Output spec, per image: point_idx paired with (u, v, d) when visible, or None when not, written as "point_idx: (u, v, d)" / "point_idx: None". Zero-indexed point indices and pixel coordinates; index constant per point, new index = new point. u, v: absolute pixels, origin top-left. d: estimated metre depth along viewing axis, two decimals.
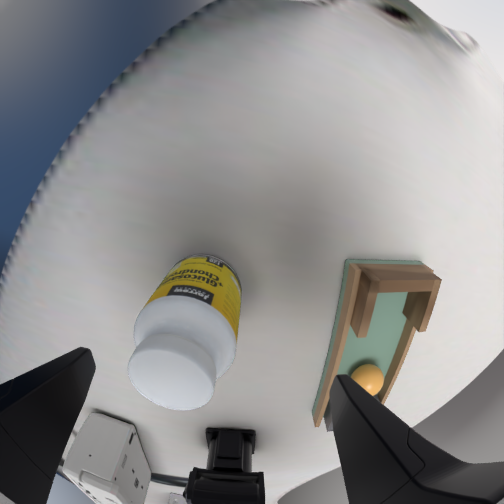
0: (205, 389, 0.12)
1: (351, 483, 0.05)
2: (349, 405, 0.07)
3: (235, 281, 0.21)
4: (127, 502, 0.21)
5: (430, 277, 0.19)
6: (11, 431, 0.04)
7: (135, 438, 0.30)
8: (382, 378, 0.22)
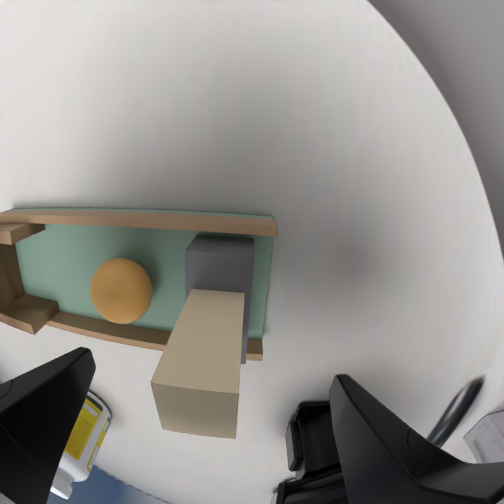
0: None
1: (351, 483, 0.05)
2: (349, 405, 0.07)
3: None
4: None
5: None
6: (11, 431, 0.04)
7: None
8: (95, 275, 0.12)
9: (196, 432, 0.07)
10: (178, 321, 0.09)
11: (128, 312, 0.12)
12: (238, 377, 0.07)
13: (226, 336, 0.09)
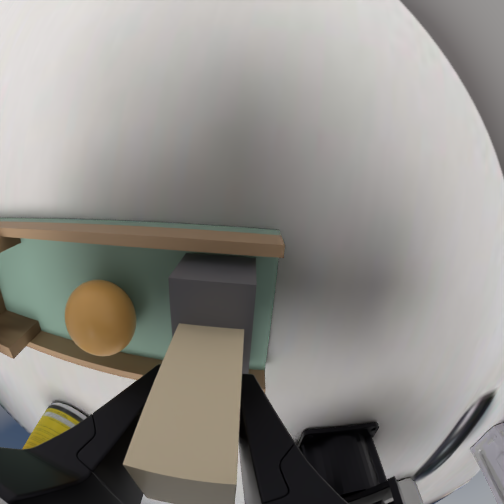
0: None
1: (245, 491, 0.05)
2: (240, 407, 0.07)
3: (46, 412, 0.16)
4: None
5: None
6: (106, 480, 0.04)
7: None
8: (69, 301, 0.10)
9: (186, 502, 0.05)
10: (159, 373, 0.07)
11: (106, 346, 0.10)
12: (235, 461, 0.04)
13: (220, 398, 0.06)
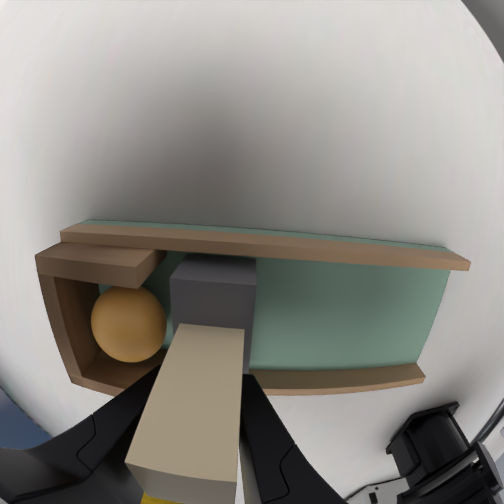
0: None
1: (245, 491, 0.05)
2: (240, 407, 0.07)
3: None
4: None
5: None
6: (106, 479, 0.04)
7: (382, 489, 0.21)
8: (137, 314, 0.10)
9: (186, 501, 0.05)
10: (161, 372, 0.07)
11: None
12: (236, 458, 0.05)
13: (221, 397, 0.06)
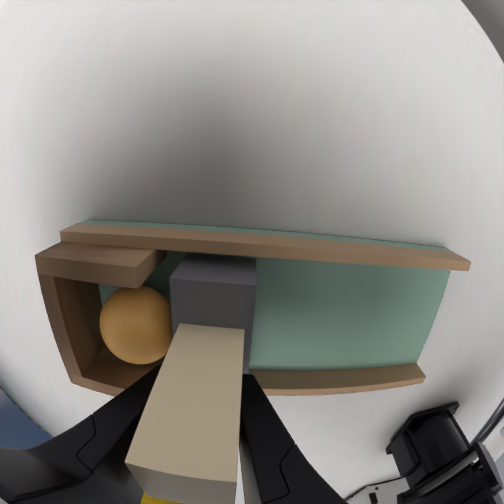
0: None
1: (245, 491, 0.05)
2: (240, 407, 0.07)
3: None
4: None
5: None
6: (106, 480, 0.04)
7: (382, 489, 0.21)
8: (155, 313, 0.10)
9: (187, 501, 0.05)
10: (161, 372, 0.07)
11: None
12: (236, 458, 0.05)
13: (220, 397, 0.06)
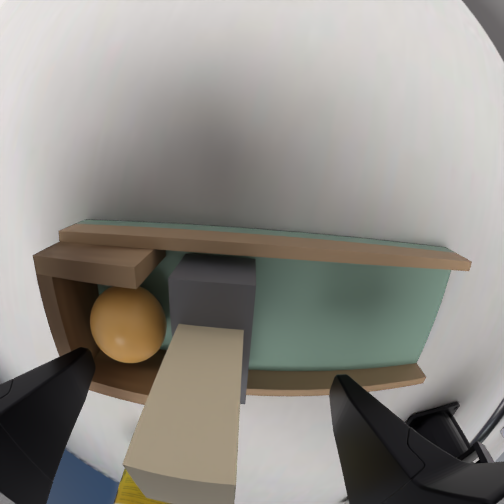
0: None
1: (351, 483, 0.05)
2: (349, 405, 0.07)
3: None
4: None
5: None
6: (11, 431, 0.04)
7: None
8: (136, 314, 0.10)
9: (185, 503, 0.05)
10: (159, 373, 0.07)
11: None
12: (235, 461, 0.04)
13: (219, 398, 0.06)
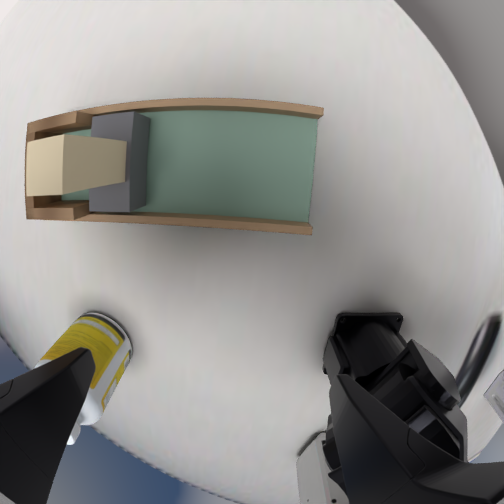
0: None
1: (351, 483, 0.05)
2: (349, 405, 0.07)
3: (75, 322, 0.20)
4: None
5: None
6: (11, 431, 0.04)
7: None
8: None
9: None
10: None
11: None
12: (72, 135, 0.08)
13: None
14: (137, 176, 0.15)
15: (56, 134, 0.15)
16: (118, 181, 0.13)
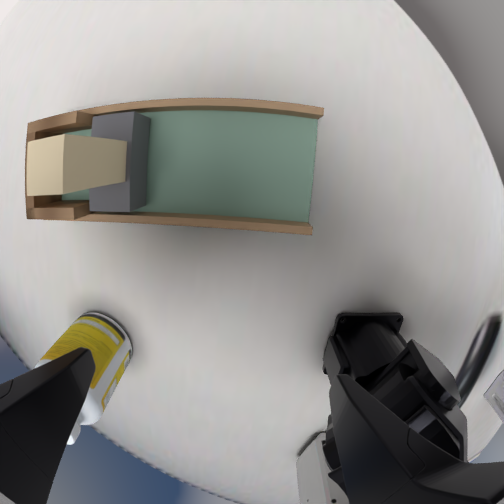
0: None
1: (351, 483, 0.05)
2: (349, 405, 0.07)
3: (75, 321, 0.20)
4: None
5: None
6: (11, 431, 0.04)
7: None
8: None
9: (43, 194, 0.09)
10: None
11: None
12: (72, 135, 0.08)
13: None
14: (137, 176, 0.15)
15: (56, 134, 0.15)
16: (118, 181, 0.13)
